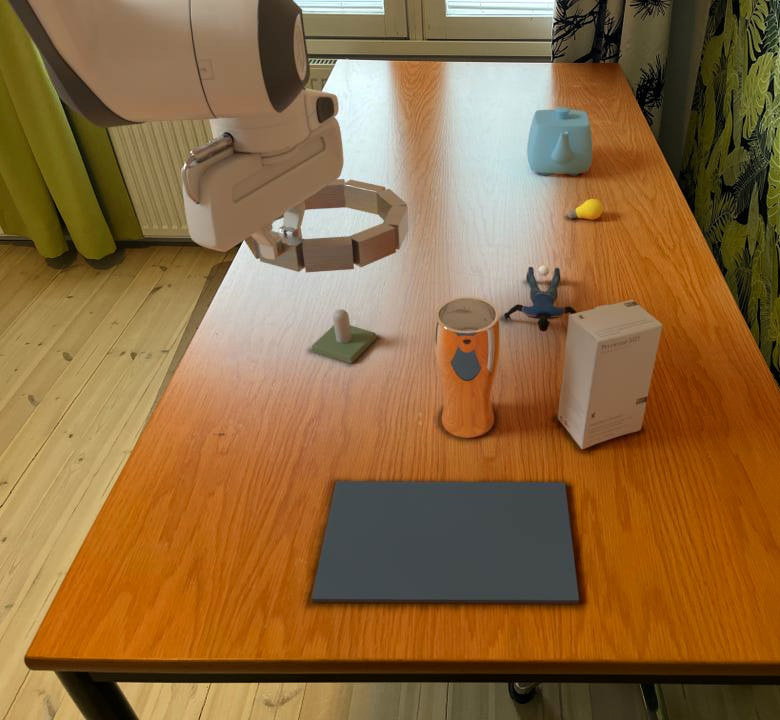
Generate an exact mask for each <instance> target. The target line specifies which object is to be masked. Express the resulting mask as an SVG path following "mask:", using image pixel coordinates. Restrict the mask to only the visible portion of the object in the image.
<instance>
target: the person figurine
mask: <svg viewBox="0 0 780 720" xmlns="http://www.w3.org/2000/svg"><path fill="white" fill-rule="evenodd" d="M533 267H534V266H528V268H527V272H526V277H525V279H526V282H527V284H528V285H529V288H530V292H529V296H530V301H531V302H532V305H531V306H527V305H523V304H514V305H513V306H512V307H511V308H510V309H509V310H508V311H507V312H505V313H504V314H503V317H504V319H505V321H508V319H509V320H510V321H511V320H512V318H511V315H512V314H514V313H516V312H521V313H523V314H524V315H526V317H528V318H531V319H538V321H537V325H538V329H539V331H541V332H547V331H548V329H549V326H550V323H551V322H550V321H549V320H555V319H559V318H561V317H563V316H564V315H566V314H575V313H578V311H577V310H575V308H573V307H572V306H571V305H570V306H569V305H568V306H564V307H557V306H555V302H556V301H557V298H558V289H557V288H558V286H559V283H561V270H560V268H559V267H555V268H554V270H553V276H552V279H551V283H550V286H549V288H548V289H547V290H545V291H544V290H541V289H540V287H539V285H538V283H537V279H536V277H535V270H534V268H533ZM537 272H538V274H539V275H540V276H542V277H546V276H547V275H549V273H550V268H549V267H548V265H546V264H541V266H539V267H538V271H537Z"/></svg>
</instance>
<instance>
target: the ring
mask: <svg viewBox="0 0 780 720" xmlns="http://www.w3.org/2000/svg"><path fill="white" fill-rule="evenodd" d="M304 201H305V207H306V208H305V211H307V210H308V211H309V210H322V209H323V210H326V209H327V210H328V209H344V208H345V209H346V208H347V209H350V210H355V211H360V212H364V213H368V214H373V215H377V216H379V218H381V219H382V220H383V222H382V223H379V224H377V225H374V226H371V227H369V228H367V229H364V230H361V231H359V232H357V233H354V234H351V235H347V236H331V237H329V236H328V237H315V238H303V237H302V238H298V237H294V236H290V235H286V234H282V233H279V231H278V232H277V231H274V230H271V231H269V233H270V234H271V235H272V237H273V238H277V239H281V240H282V244H283V246H282V248H283V251H284V252H283V254H282V255H280V256H279V257H278V258H276V259H275V260H270V259H266V258H264V257H263V256H262V254H261V251H260V246H259V243H258V242H257V241H256V240H255V239H254V238H253V237H252V236H249V237H248V238H246V239H244V240H243V241H244V242H245V244H246V245H247V246H248V249H249V250H250V252H251V253H252V255H253V256H254V258H255V260H259V262H261V263H264V264H268V265H272V266H275V267H279V268H283V269H287V270H291V271H294V272H298V273H299V272H301V271H302V270H303V269H304V270H305V273H317V272H318V273H321V272H332V271H335V272H336V271H346V270H347V271H348V270H354V269H355V266H357V267H359V268H364V267H367V266H368V265H370V264H374V263H375V262H377V261H379V260H382V259H384V258H387V257H388V256H391V255H393V254H396V253H397V250H401V248H402V245H403V243H404V242H405V239H406V236H407V235H408V232H409V207H408V204H407V203H406V202H405V201H404V200H403V199H402V198H401V197H400V196H398V195H397V194H396V193H395V192H394V191H393V190H391V188H386V187H385V186H383V185H378V184H373V183H369V182H364V181H360V180H354V179H349V180H347V181H346V179H345V178H338V179H336V180H334V181H333V182H331V183H330V184H328V185H327V186H325V187H324V188H322V189H321V190H319V191H318V192H316V193H315V194H313V195H311V196H310V197H308V198H307V199H305V200H304ZM283 219H284V214H283V215H281V216H280V217H278V218H276V219H275V220H273V221H272V225H273V224H274V223H275V221H279V220H283Z"/></svg>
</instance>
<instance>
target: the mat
mask: <svg viewBox="0 0 780 720" xmlns="http://www.w3.org/2000/svg"><path fill="white" fill-rule="evenodd" d="M566 486H567V485H566V482H564V481H562V482H561V481H560V482H559V481H536V482H535V481H399V480H398V481H397V480H396V481H394V480H393V481H392V480H391V481H390V480H389V481H388V480H387V481H379V480H377V481H375V480H373V481H372V480H371V481H369V480H367V481H366V480H336V482H335V486H334V491H333V495H332V501H331V505H330V510H329V515H328V519H327V523H326V527H325V528H326V529H325V533H324V537H323V542H322V547H321V551H320V557H319V561H318V566H317V570H316V576H315V580H314V584H313V589H312V594H311V598H310V599H311V602H312V603H320V604H321V603H323V604H324V603H325V604H326V603H329V604H330V603H336V604H337V603H338V604H339V603H342V604H345V603H346V604H351V603H352V604H376V603H377V604H514V605H515V604H516V605H517V604H519V605H520V604H524V605H527V604H536V605H537V604H541V605H578V604H580V595H579V586H578V585H579V584H578V578H577V571H576V562H575V554H574V545H573V537H572V528H571V520H570V511H569V503H568V495H567V494H568V493H567V487H566Z"/></svg>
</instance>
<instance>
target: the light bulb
mask: <svg viewBox="0 0 780 720" xmlns="http://www.w3.org/2000/svg"><path fill="white" fill-rule="evenodd" d="M603 210H604V207H603V204H602V202H601V201H600V200H598V199H597V198H589V199H587V200H585V201H584V202H583V203H582V204H581V205H580V206H578V207H576V208H575V209H573V210H570V211H568V213H567V217H568V218H569V219H571V220H572V219H577V218H578V219H586V220H592V221H594V220H597V219H599V218H600V217H601V215H602V214H603Z"/></svg>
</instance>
